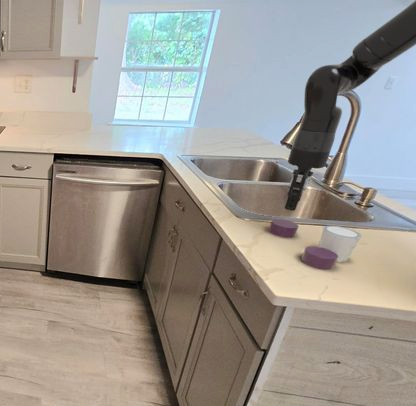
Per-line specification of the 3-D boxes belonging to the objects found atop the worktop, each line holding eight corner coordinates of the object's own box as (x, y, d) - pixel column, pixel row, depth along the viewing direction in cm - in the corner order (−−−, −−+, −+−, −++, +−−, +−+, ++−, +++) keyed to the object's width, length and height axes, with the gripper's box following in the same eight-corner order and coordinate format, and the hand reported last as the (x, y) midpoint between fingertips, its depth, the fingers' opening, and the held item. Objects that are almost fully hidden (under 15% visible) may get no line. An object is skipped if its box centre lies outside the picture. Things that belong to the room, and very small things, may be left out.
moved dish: (293, 230, 104) (296, 221, 103) (297, 239, 100) (300, 229, 98) (267, 226, 107) (270, 217, 106) (269, 234, 102) (273, 225, 101)
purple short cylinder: (330, 260, 90) (334, 249, 89) (336, 272, 85) (341, 261, 84) (299, 254, 93) (302, 244, 92) (303, 265, 88) (308, 255, 87)
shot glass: (344, 266, 88) (356, 240, 85) (309, 254, 93) (318, 229, 90) (354, 257, 91) (365, 232, 88) (319, 246, 96) (329, 222, 93)
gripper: (328, 155, 86) (306, 217, 93) (333, 144, 95) (313, 200, 102) (288, 150, 91) (270, 209, 98) (296, 140, 100) (279, 194, 107)
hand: (292, 205), depth 100 cm, fingers open, 8 cm apart
